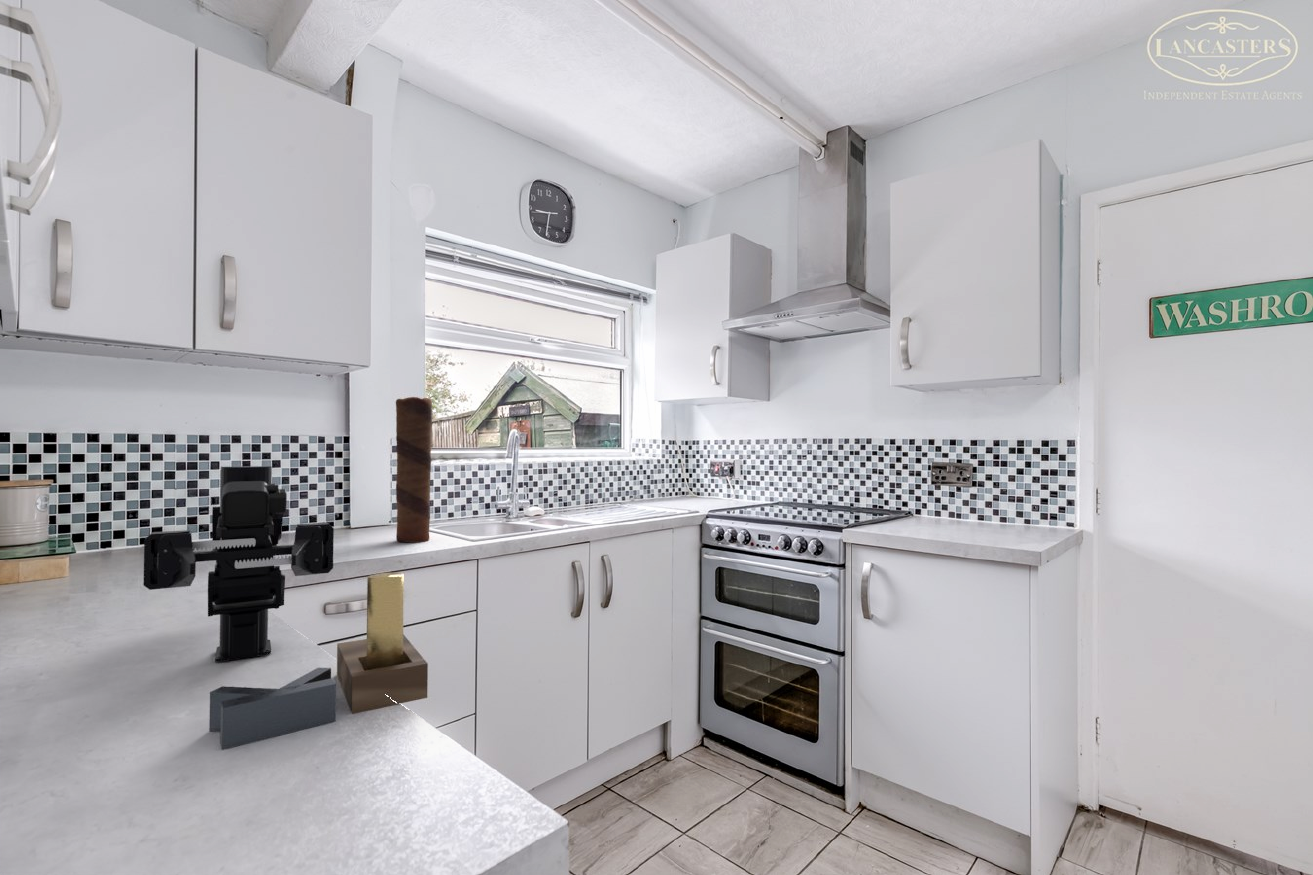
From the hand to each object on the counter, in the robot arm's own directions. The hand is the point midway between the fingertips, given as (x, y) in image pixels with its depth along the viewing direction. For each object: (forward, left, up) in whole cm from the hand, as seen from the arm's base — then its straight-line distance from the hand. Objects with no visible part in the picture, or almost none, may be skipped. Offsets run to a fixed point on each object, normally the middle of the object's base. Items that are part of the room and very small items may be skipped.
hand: (245, 564), depth 68 cm
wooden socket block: (-2, +14, -16) cm, 22 cm away
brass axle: (+1, +14, -17) cm, 22 cm away
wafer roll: (-124, +44, -17) cm, 133 cm away
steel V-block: (+4, +3, -16) cm, 17 cm away
